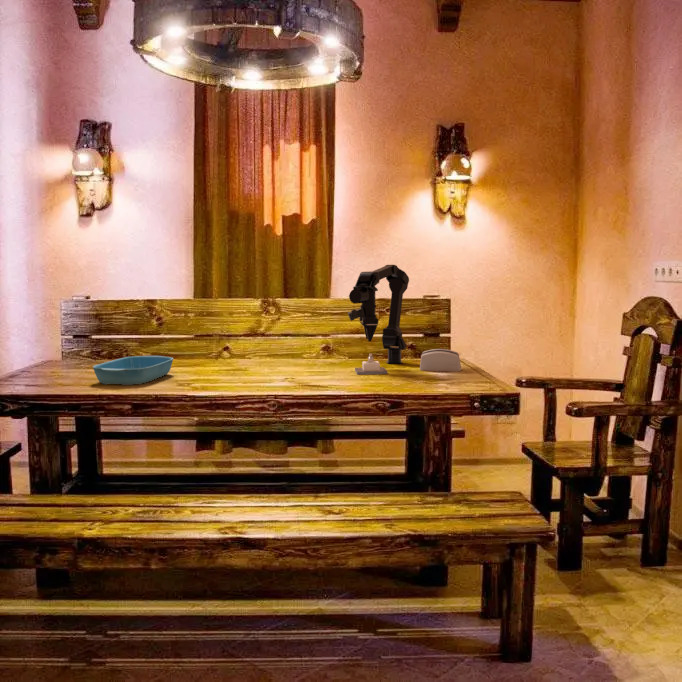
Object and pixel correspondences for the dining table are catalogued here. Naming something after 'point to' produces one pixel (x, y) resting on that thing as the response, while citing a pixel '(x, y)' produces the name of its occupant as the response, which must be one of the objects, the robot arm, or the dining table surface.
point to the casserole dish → (133, 369)
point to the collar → (370, 366)
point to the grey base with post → (362, 372)
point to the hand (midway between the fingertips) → (368, 340)
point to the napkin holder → (440, 360)
